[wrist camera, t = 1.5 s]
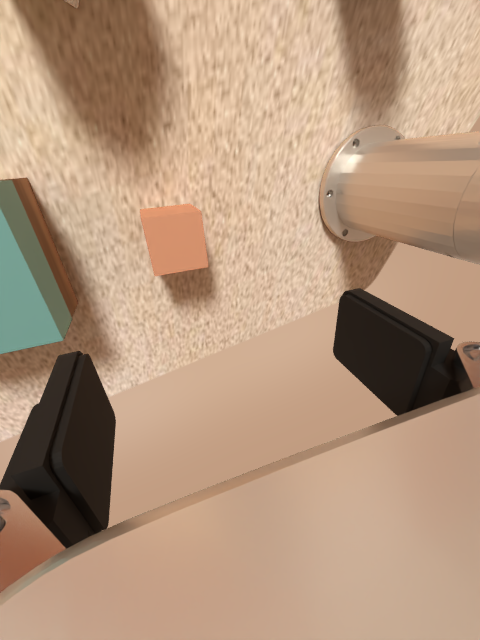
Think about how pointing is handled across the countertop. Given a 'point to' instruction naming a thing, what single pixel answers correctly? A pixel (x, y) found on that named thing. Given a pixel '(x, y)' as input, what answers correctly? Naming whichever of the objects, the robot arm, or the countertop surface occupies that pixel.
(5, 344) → the teal top block
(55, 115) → the countertop surface
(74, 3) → the small box
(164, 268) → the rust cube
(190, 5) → the countertop surface
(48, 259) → the walnut base block
